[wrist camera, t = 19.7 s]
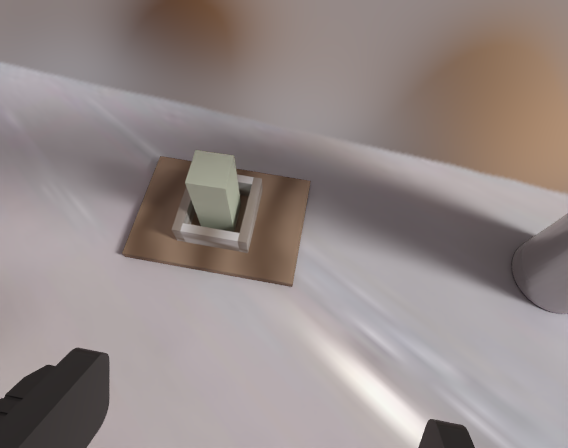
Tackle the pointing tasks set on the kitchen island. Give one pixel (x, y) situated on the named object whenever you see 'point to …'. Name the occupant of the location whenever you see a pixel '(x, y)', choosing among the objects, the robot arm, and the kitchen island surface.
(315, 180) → the kitchen island surface
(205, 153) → the post
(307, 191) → the board
